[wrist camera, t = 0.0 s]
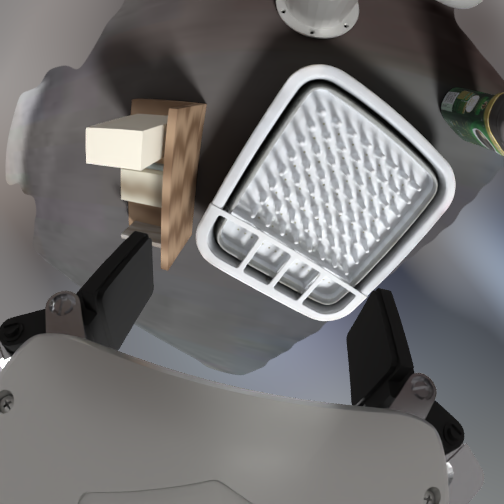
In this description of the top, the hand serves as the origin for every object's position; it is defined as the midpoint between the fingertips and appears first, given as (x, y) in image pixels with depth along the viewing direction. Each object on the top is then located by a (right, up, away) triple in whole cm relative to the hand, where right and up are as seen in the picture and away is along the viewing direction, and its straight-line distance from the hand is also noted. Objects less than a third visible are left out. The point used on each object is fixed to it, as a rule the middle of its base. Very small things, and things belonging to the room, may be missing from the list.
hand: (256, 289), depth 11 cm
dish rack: (+12, +11, +35) cm, 39 cm away
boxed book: (-15, +22, +31) cm, 41 cm away
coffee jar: (+35, +25, +22) cm, 49 cm away
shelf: (-16, +17, +36) cm, 43 cm away
